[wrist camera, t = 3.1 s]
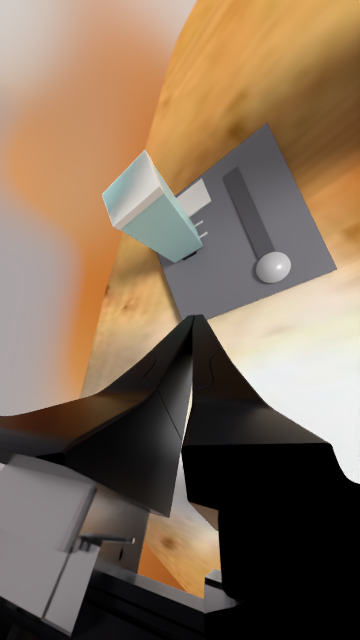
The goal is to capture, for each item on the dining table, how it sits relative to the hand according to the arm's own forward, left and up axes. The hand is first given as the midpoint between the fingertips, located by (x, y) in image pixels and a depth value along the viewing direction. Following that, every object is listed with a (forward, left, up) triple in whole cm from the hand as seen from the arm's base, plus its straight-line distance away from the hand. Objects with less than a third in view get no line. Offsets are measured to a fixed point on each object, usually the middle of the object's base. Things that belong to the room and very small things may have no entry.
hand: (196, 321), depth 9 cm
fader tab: (+1, +10, -11) cm, 15 cm away
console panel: (+5, +7, -11) cm, 14 cm away
